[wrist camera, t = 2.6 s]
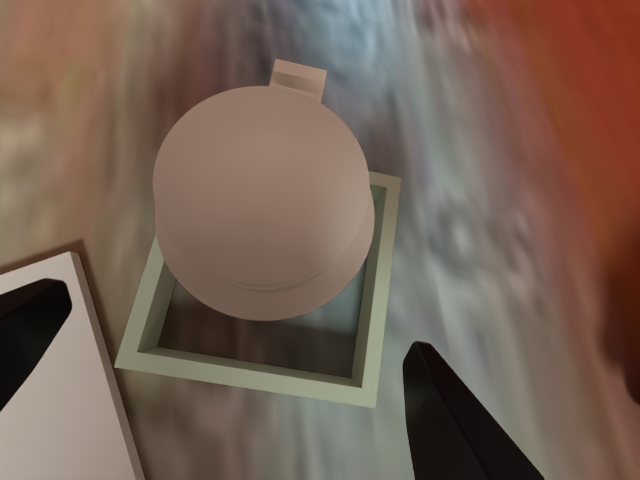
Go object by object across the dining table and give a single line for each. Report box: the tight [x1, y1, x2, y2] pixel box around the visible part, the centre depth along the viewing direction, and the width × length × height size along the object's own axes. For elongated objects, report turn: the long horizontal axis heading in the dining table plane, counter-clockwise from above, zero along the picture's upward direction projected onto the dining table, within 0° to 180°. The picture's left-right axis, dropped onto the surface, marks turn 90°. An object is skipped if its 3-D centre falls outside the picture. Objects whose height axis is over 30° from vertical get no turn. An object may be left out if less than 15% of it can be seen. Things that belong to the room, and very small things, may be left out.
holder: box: [114, 171, 402, 408], centre depth 18 cm, size 13×13×2 cm
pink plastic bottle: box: [153, 59, 375, 321], centre depth 13 cm, size 8×6×13 cm
